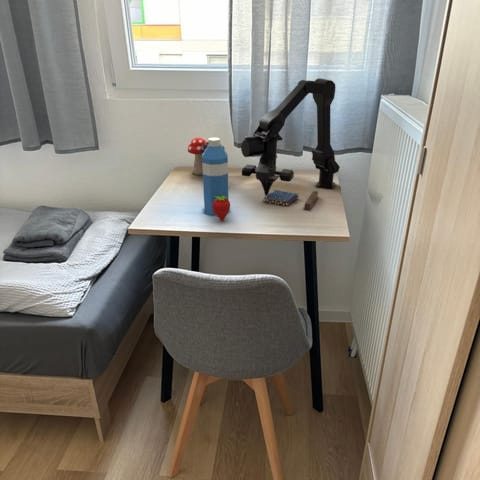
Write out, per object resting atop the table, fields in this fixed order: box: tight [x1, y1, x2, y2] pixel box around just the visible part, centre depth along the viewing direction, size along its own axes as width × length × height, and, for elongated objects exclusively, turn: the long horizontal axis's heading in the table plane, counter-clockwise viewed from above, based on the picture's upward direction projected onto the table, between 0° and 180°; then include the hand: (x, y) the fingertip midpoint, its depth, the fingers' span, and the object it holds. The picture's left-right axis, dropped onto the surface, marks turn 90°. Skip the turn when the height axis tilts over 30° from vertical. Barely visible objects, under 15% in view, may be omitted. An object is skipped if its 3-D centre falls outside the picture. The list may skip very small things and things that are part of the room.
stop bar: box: [303, 190, 319, 211], centre depth 181 cm, size 14×2×2 cm, turn 161°
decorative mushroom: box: [187, 137, 207, 176], centre depth 209 cm, size 10×9×15 cm
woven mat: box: [263, 189, 299, 206], centre depth 184 cm, size 10×11×2 cm
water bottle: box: [202, 137, 230, 216], centre depth 169 cm, size 9×9×25 cm
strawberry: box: [212, 192, 231, 222], centre depth 166 cm, size 6×8×10 cm
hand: (266, 195), depth 186 cm, fingers closed
